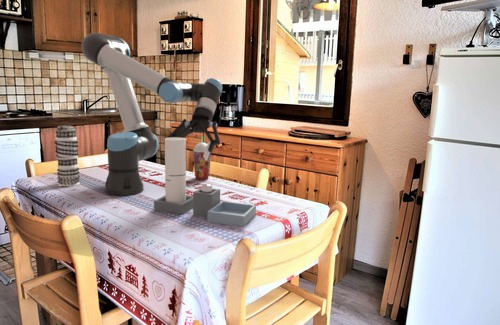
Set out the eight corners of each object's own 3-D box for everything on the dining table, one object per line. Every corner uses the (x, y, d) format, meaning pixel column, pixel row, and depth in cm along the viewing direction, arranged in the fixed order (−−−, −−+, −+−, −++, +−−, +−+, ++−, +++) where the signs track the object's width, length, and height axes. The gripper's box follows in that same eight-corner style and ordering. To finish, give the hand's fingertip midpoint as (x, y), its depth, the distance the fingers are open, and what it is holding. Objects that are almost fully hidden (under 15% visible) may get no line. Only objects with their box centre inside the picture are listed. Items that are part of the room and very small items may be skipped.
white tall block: (181, 211, 135) (181, 140, 130) (162, 210, 136) (161, 139, 131) (188, 205, 142) (188, 138, 137) (170, 204, 143) (169, 136, 138)
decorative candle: (56, 187, 160) (52, 127, 155) (57, 182, 168) (53, 125, 163) (80, 186, 164) (77, 127, 159) (80, 181, 172) (77, 124, 167)
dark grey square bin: (154, 210, 135) (153, 200, 135) (169, 202, 146) (169, 193, 145) (182, 214, 132) (182, 204, 132) (196, 205, 142) (196, 196, 142)
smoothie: (213, 177, 186) (214, 136, 182) (206, 181, 178) (206, 138, 174) (198, 176, 188) (198, 135, 184) (189, 179, 181) (189, 137, 177)
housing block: (193, 214, 132) (193, 192, 131) (201, 209, 139) (201, 187, 137) (212, 217, 130) (212, 194, 128) (219, 211, 137) (220, 189, 135)
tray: (207, 221, 126) (207, 211, 125) (221, 210, 138) (222, 200, 137) (244, 227, 122) (244, 216, 122) (255, 214, 134) (256, 205, 133)
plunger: (199, 197, 132) (199, 185, 131) (204, 194, 135) (204, 183, 135) (209, 198, 131) (209, 186, 130) (213, 195, 134) (213, 184, 134)
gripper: (236, 119, 151) (222, 165, 140) (178, 116, 158) (160, 160, 147) (232, 107, 144) (217, 153, 134) (171, 104, 152) (153, 148, 141)
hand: (187, 157), depth 140 cm, fingers open, 13 cm apart
